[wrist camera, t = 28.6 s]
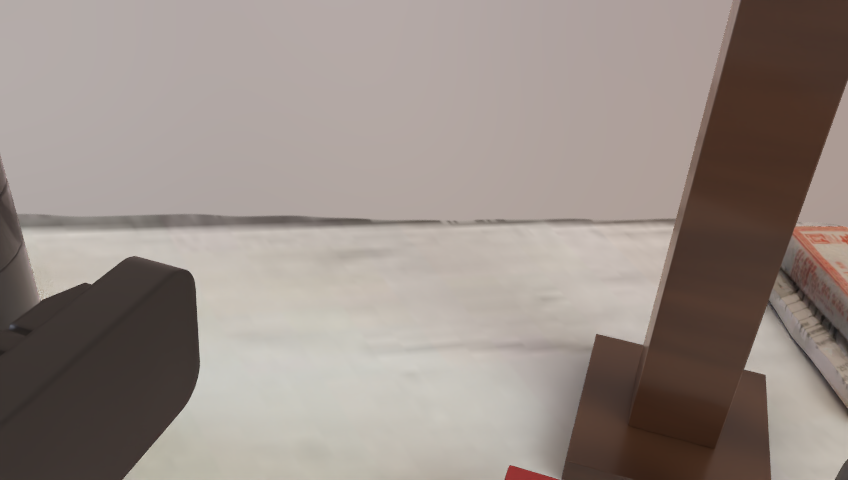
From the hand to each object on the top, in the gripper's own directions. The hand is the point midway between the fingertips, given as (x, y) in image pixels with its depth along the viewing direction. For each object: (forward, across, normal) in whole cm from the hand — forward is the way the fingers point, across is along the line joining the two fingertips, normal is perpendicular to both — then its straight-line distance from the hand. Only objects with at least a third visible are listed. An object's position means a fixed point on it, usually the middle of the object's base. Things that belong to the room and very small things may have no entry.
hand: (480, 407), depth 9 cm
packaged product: (+46, -21, +25) cm, 56 cm away
